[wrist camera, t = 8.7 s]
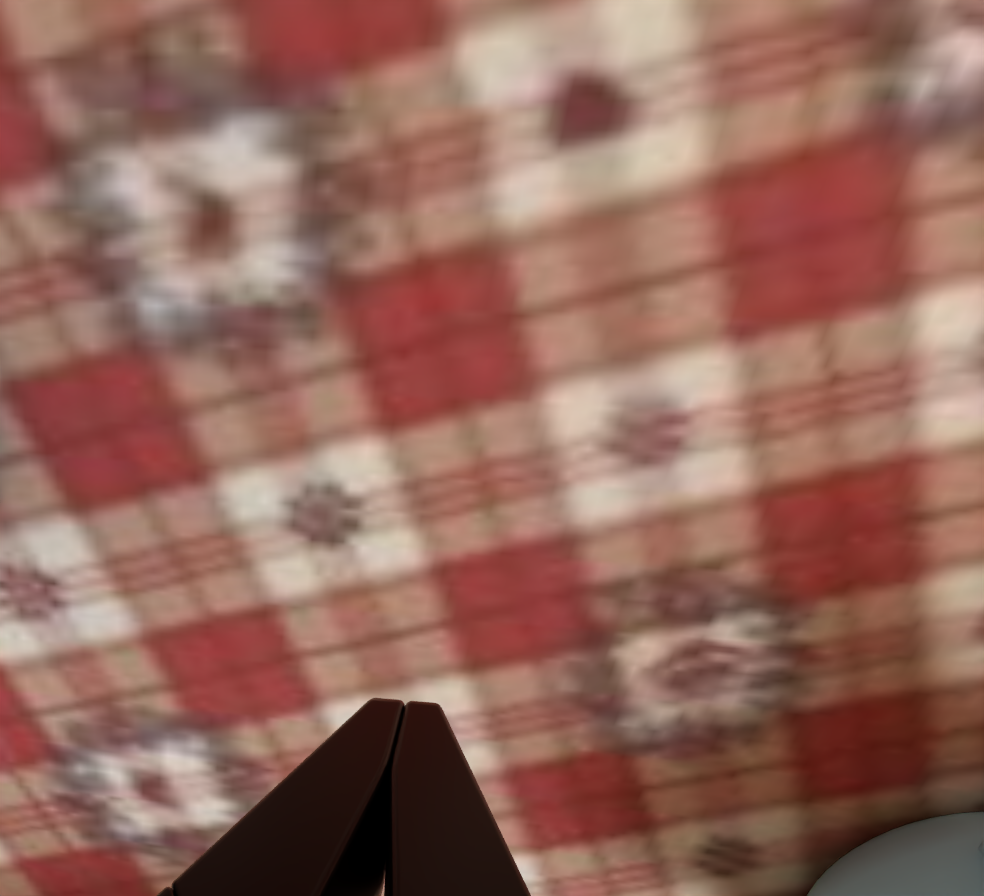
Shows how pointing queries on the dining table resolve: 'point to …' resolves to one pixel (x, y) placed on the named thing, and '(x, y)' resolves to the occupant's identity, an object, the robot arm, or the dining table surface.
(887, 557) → the dining table surface
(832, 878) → the teapot
